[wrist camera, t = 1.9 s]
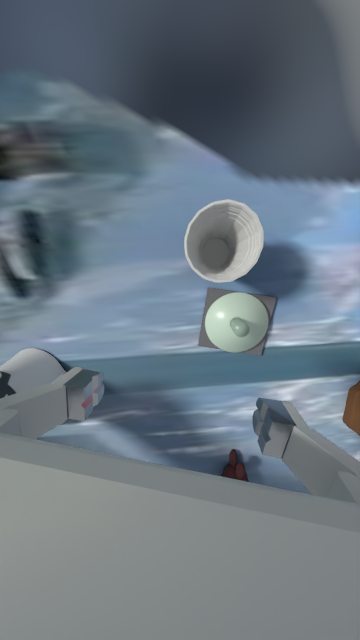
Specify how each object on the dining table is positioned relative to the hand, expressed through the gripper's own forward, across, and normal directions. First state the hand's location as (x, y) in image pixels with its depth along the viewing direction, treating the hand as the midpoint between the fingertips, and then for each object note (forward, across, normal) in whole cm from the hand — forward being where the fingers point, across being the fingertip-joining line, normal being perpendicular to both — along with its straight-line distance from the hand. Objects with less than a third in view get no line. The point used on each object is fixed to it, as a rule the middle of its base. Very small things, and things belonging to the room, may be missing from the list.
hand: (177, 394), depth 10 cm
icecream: (+31, -16, +44) cm, 56 cm away
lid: (+30, -9, +3) cm, 32 cm away
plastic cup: (+31, -2, -10) cm, 33 cm away
